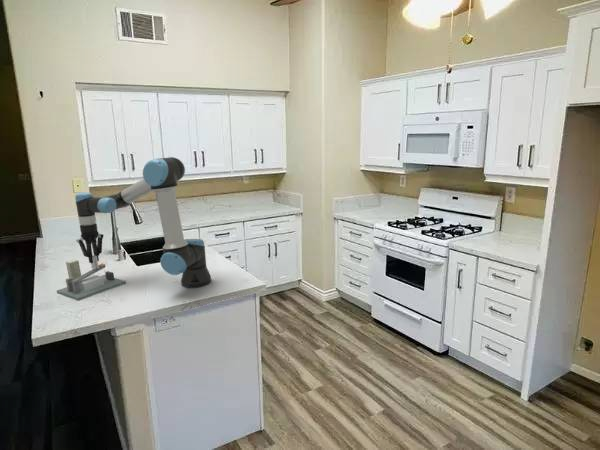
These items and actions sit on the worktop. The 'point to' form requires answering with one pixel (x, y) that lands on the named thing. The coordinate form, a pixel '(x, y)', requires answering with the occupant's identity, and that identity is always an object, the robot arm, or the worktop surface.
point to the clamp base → (93, 291)
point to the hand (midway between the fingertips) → (95, 268)
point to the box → (73, 269)
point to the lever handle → (90, 272)
